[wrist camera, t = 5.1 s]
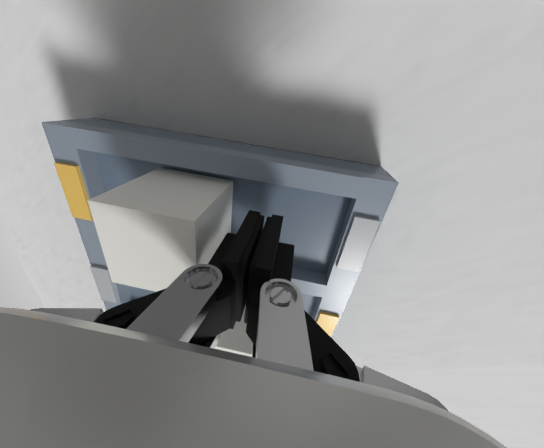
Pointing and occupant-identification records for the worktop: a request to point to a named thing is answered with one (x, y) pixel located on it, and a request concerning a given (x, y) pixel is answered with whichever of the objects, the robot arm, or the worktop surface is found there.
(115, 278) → the tab
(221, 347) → the tab
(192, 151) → the switch bank
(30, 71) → the worktop surface
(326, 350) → the robot arm
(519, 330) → the worktop surface
